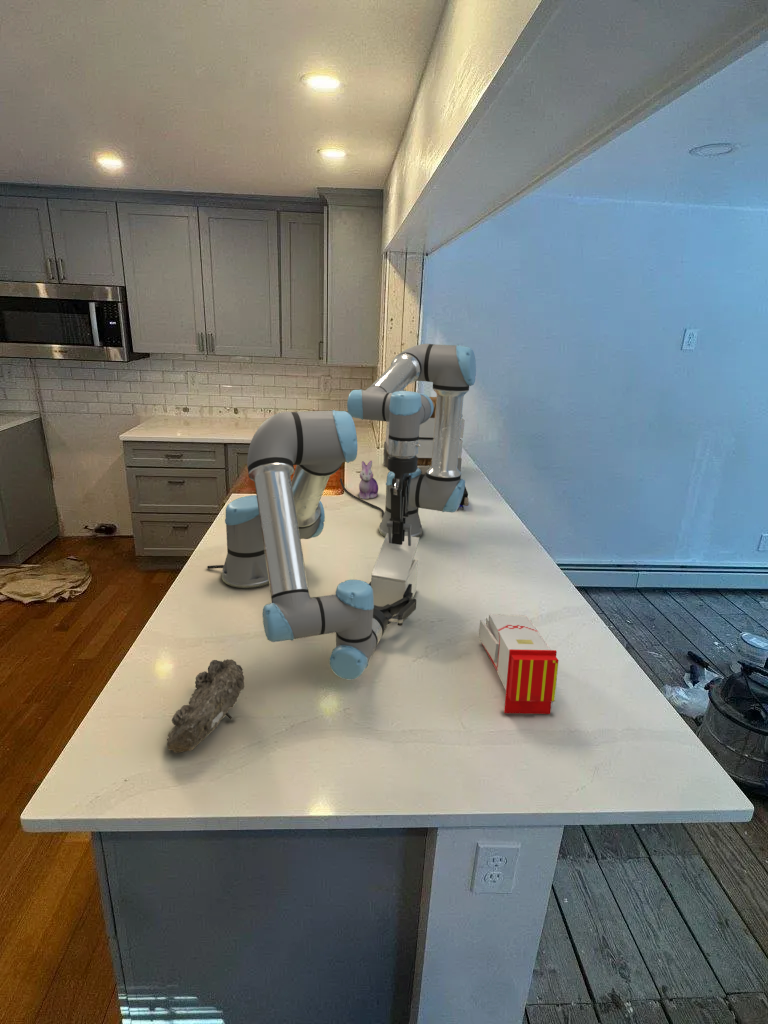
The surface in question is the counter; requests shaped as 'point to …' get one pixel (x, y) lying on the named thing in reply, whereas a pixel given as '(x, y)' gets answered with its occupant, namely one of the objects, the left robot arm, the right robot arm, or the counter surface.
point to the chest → (393, 587)
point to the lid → (395, 557)
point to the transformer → (426, 441)
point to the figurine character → (464, 499)
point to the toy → (521, 662)
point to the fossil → (206, 705)
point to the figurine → (367, 482)
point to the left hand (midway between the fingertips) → (391, 585)
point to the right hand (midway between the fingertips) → (398, 541)
